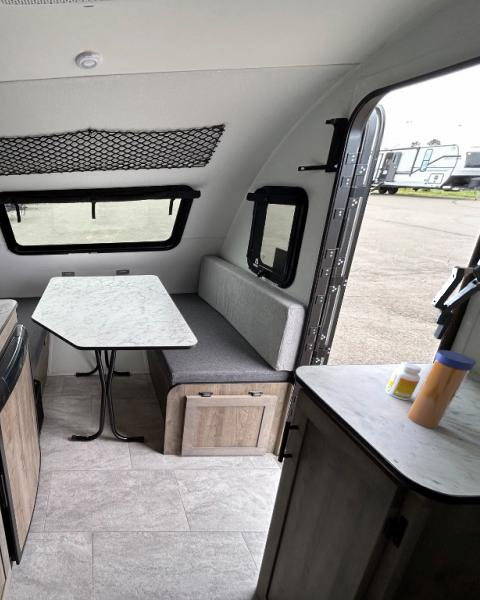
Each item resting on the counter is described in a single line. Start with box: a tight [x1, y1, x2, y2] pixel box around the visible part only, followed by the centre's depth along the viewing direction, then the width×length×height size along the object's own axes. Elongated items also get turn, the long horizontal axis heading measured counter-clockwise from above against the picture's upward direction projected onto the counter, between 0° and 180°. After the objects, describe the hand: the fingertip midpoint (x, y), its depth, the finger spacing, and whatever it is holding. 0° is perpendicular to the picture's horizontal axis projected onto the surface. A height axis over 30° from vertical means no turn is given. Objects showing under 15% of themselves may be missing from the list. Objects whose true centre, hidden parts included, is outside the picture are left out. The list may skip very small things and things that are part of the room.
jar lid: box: [434, 349, 477, 371], centre depth 77 cm, size 6×6×2 cm
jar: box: [406, 359, 470, 429], centre depth 80 cm, size 6×6×18 cm
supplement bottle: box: [385, 361, 422, 401], centre depth 92 cm, size 5×5×10 cm
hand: (462, 342), depth 75 cm, fingers open, 8 cm apart
